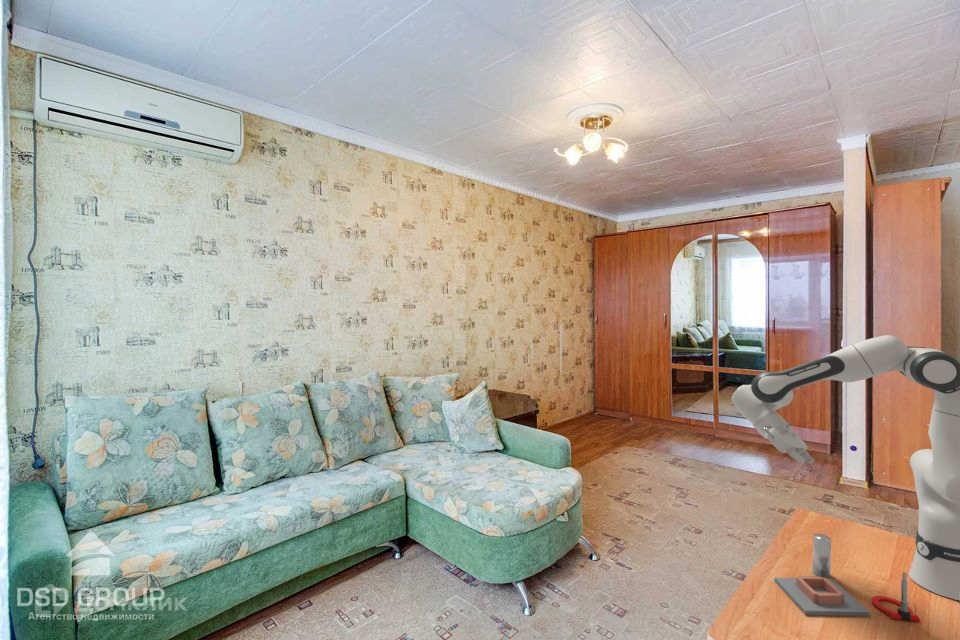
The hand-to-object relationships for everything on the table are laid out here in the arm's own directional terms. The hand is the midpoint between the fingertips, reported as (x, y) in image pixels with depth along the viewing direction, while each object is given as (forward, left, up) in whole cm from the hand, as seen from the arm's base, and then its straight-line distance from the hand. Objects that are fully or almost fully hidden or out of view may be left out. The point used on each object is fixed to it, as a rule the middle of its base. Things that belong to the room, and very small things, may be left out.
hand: (807, 462), depth 141 cm
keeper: (+6, +15, -34) cm, 38 cm away
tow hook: (-11, +19, -35) cm, 41 cm away
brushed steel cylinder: (-2, +4, -34) cm, 35 cm away
